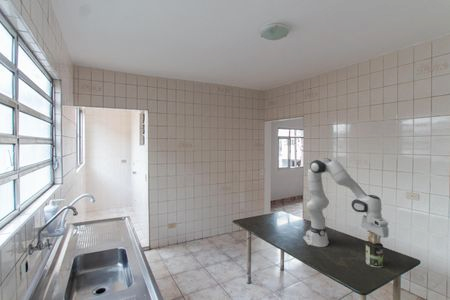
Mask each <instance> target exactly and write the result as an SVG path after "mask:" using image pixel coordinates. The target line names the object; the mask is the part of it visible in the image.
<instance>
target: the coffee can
mask: <svg viewBox="0 0 450 300" xmlns="http://www.w3.org/2000/svg"><path fill="white" fill-rule="evenodd" d="M365 263H366V265H368V266H370V267H373V268H382V267H384V245H383V244H382V243H381V242H380V243H375V244H374V243H372V242H370V241H368V240H367V241H365Z"/></svg>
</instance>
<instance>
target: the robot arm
mask: <svg viewBox="0 0 450 300" xmlns="http://www.w3.org/2000/svg"><path fill="white" fill-rule="evenodd" d="M323 173H329V175H330V176H331V178H332V180H334V181H333V182H335V183H336V184H338V185H339V186H343V187H346V188H348V189H349V190H350V191H351V192H352V193H353V194H354V195H355V197H356V198H355V199H353V200H352V201H351V208H352V209H353V211H355V212H357V213H365V214H366V215H362V217H361V224H360V225H361V228H363V229H364V230H366V232H367V233H368V232H373V233H375V234H377V236H378V237H377V238H376V240H377V241H380V242H381V238H388V237H389V234H390V233H389V226H388V225H389V222H388V221H387V220H386V219H384V218H383V217H382V200H381V198H380V197H379V196H378V195H374V194H367V193H365V191H364V190H363V189H362V188H361V186H359V184H358V183H357V182H356V180H354V179H353V178H352V176H351V175H350V174H349V173H348V171H347V170H346V169H345V167H344V166H343V164H341V162H339V161H338V160H334V159H332V160H331V159H330V158H327V157H326V158H319V159H315V160H313V161H311V163H310V165H309V168H308V170H307V185H308V191H309V192H310V193H311V195H312V198H311V199H309V200H308V201H307V203H306V206H305V207H306V209H307V211H308V212H309V215H310V223H311V224H310V225H309V226H310V227H309V229H308V230H306V232H305V235H303V237H302V239H303V240H304V241H305V242H306V244H307V245H308V246H309V245H310V246H313V247H318V248H325V247H327V246H328V245H329V243H330V241H329V239H328V232H327V227H326V217H325V216H324V213H323V211H324V210H325V209H326V208H327V207H328V205H329V204H330V200H329V198H328V197H327V196H326V194H325V190H324V188H323V187H324V186H323V181H322V180H323V179H322V175H323Z"/></svg>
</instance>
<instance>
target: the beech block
mask: <svg viewBox="0 0 450 300" xmlns="http://www.w3.org/2000/svg"><path fill="white" fill-rule="evenodd" d="M377 237H378V236H377V234H375V233H373V232H367V238H368V239H367V241H370V242H372V243H374V244H375V243H381V240H380V241H377V240H376V238H377Z"/></svg>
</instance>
